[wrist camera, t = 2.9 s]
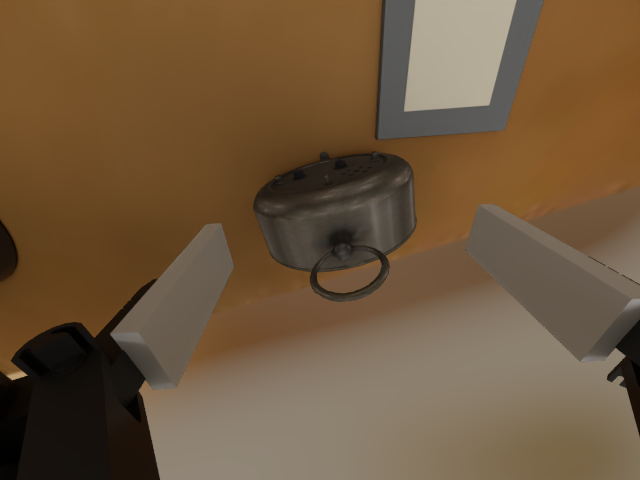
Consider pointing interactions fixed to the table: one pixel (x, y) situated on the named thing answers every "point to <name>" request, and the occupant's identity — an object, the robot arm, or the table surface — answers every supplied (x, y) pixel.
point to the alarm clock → (338, 216)
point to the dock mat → (451, 64)
